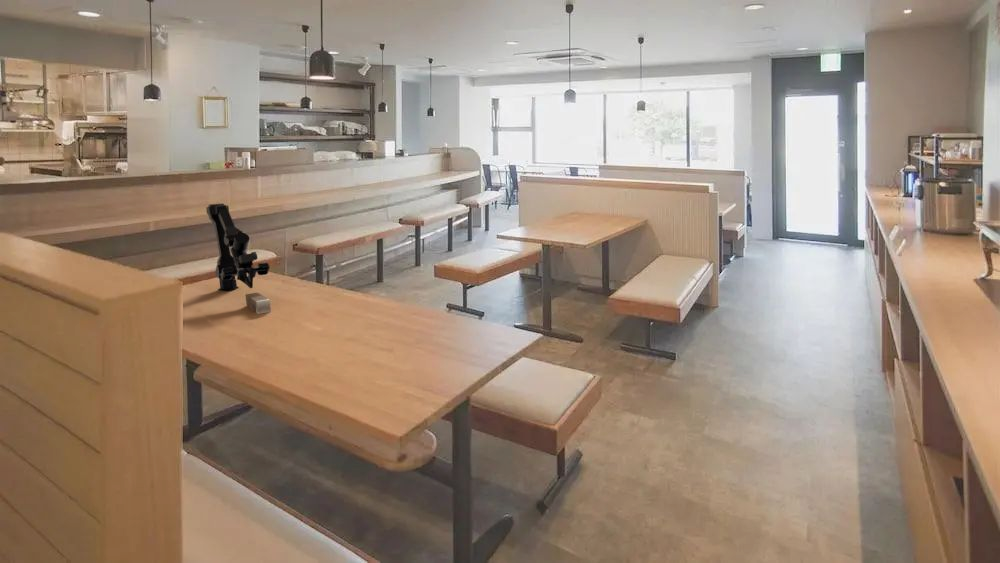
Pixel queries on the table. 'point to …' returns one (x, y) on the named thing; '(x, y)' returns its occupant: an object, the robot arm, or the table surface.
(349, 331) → the table surface
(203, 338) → the table surface
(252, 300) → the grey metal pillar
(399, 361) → the table surface
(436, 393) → the table surface
